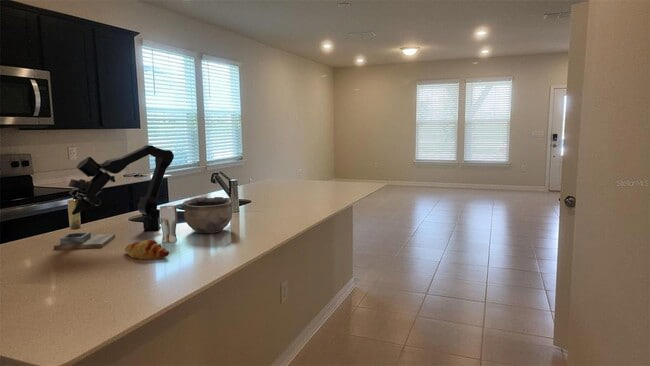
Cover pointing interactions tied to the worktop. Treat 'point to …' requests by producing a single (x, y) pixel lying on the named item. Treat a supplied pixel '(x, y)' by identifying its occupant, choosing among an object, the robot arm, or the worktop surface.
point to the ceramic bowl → (208, 214)
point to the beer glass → (168, 223)
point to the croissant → (146, 250)
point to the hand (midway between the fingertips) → (70, 213)
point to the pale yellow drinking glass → (73, 219)
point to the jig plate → (83, 240)
